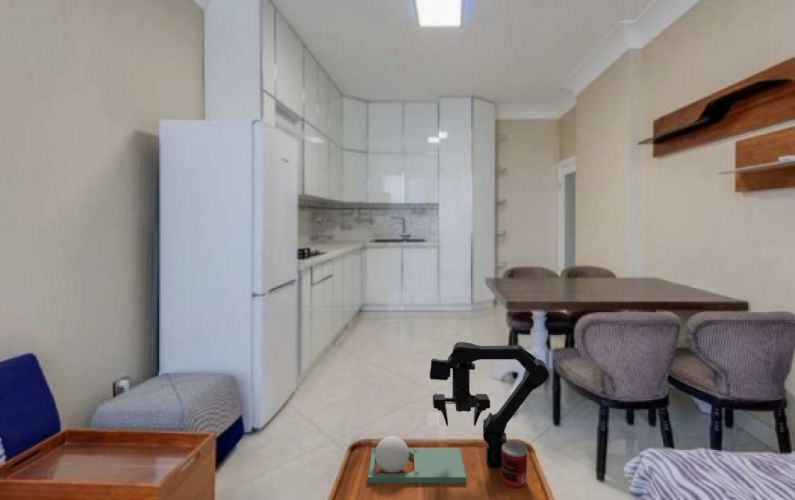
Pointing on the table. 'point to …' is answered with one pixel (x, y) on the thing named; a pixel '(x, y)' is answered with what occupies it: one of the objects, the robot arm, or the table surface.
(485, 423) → the robot arm
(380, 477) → the putting board
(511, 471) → the canned food
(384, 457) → the ball
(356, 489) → the table surface
